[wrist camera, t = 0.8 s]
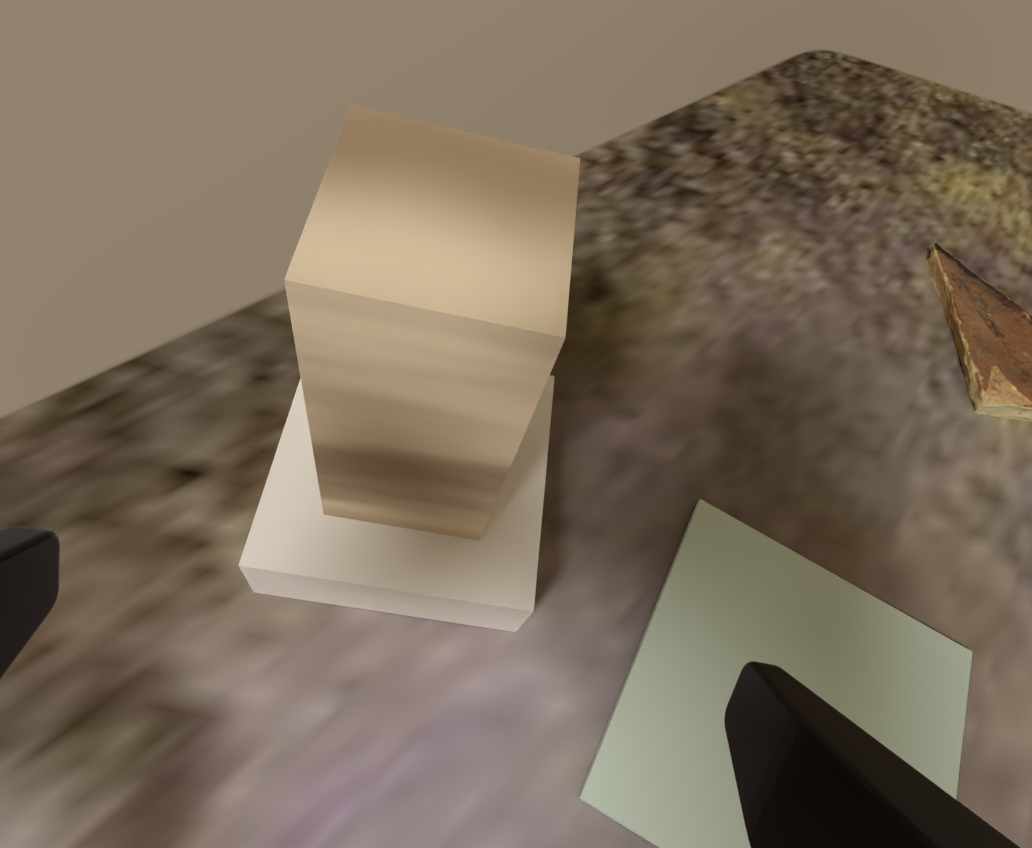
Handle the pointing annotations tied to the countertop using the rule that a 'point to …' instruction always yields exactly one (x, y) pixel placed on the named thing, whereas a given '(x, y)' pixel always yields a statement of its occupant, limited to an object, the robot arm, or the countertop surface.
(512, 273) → the oak block
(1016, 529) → the countertop surface
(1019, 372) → the shard
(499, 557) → the stand
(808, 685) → the mat
